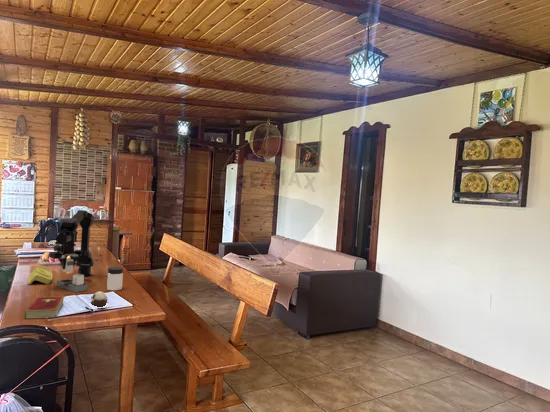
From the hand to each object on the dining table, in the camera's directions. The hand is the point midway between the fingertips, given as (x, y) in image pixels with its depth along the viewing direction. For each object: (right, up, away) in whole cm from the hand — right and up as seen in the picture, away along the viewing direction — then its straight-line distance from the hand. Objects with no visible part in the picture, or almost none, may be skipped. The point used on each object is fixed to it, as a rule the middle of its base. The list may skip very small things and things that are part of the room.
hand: (67, 268), depth 223 cm
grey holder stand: (+4, -10, -2) cm, 11 cm away
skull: (+32, -14, -30) cm, 46 cm away
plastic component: (-20, -9, +7) cm, 23 cm away
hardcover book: (+12, -13, -42) cm, 46 cm away
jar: (+26, -12, +3) cm, 29 cm away
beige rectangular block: (0, -1, 0) cm, 1 cm away
